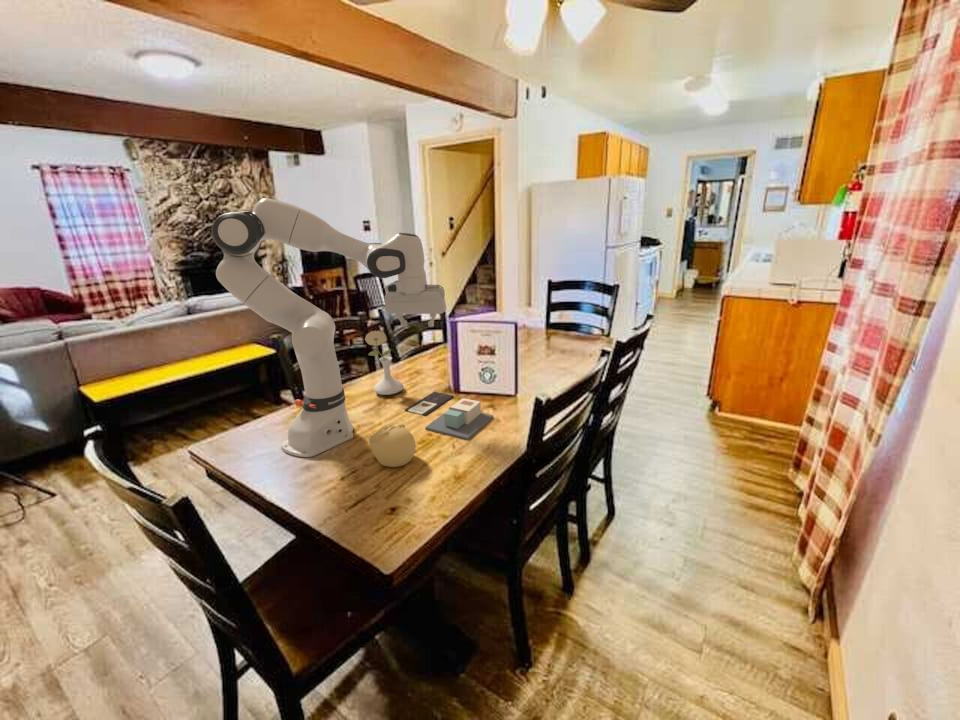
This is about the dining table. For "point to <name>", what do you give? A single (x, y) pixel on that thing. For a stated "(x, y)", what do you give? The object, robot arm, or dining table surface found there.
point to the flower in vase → (388, 382)
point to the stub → (454, 418)
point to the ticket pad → (462, 429)
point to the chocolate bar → (429, 403)
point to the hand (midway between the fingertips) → (417, 326)
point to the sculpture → (393, 445)
